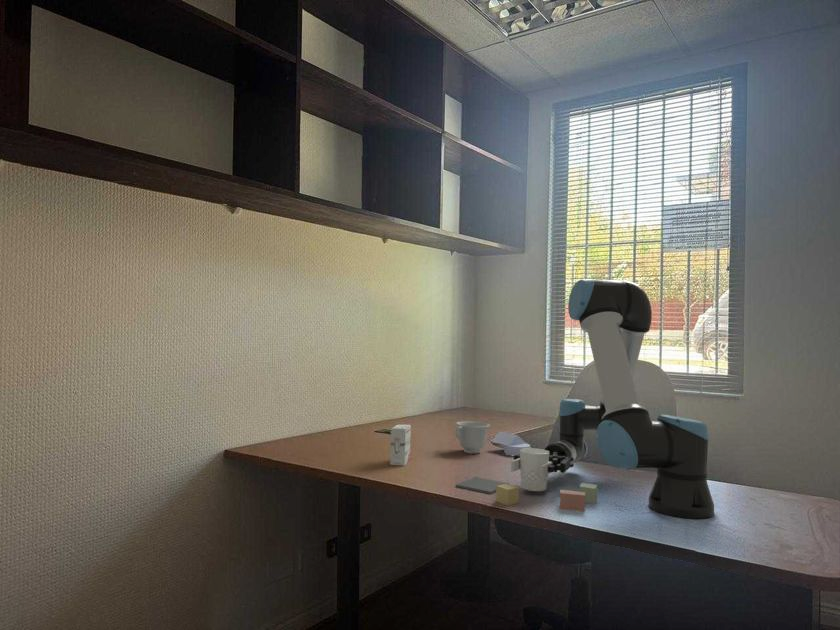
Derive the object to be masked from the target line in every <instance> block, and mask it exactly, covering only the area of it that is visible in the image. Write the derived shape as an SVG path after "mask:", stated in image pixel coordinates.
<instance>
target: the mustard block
mask: <svg viewBox="0 0 840 630" xmlns="http://www.w3.org/2000/svg"><path fill="white" fill-rule="evenodd" d="M519 489H520V488H519V486H516V485H512V484H510V483H509V484H503V485H499V486H496V492H495V493H496V495H495V502H497V503H500V504H503V505H505V506H511V505H515V504H518V503H519V492H520V491H519Z"/></svg>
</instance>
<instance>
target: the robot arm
mask: <svg viewBox="0 0 840 630" xmlns="http://www.w3.org/2000/svg"><path fill="white" fill-rule="evenodd" d="M567 309H568V315H569V317H570V318H571V320H574V321H579V326H580V329H581V331H583V332H585V333H587V336H588V340H589V345H590V349H591V352H592V356H593V357H592V358H593V362H594V365H595V370H596V375H597V379H598V384H599V388H600V393H601V400H600V402H599V405H586V404H585V401H584V400H582V399H580V398H579V399H578V398H563V399H562V400H561V401H560V402H559V412H558V431H559V432H558V441H555V442H553V443H550V444H548V445H547V446H546V447H545V448H544V450H547V451H549V462H548V463H545V464H543V465H541V466H540V476H542V477H543V476H545V475H547V474H548V475H549V474H551V473H558V472H559V473H561V474H564V473H566V472H567V471H568V470H569V469H570V468H573V467H574V464H576V463H579V462H580V461H582V460H583V459H584V458H585V457H586V456H587V454H588V450H589V449H588V444H587V441H586V440H585V431H596V435H597V436H596V444H597V448H598V451H599V454H600V456H601V457H602V459H603V460H604V462H605V463H607V464H608V465H609V467H612V468H615V469H623V470H624V469H625V470H633V469H637V470H638V469H656V475H655V479H654V482H653V485H652V487H651V490H650V491H649V495H648V507H650V508H651V510H654V511H656V512H658V513H661V514H664V515H667V516H672V517H673V516H674V517H678V518H685V519H708V518H707V517H709V518H711V516H712V517H714V515H715V504H714V500H713V497H712V494H711V490H710V488H709V487H710V486H709V484H708V447H709V446H708V442H709V441H710V439H709V433H708V426H707V424H705V423H704V421H703V422H702V421H699V420H696V419H692V418H686V417H682V416H677V415H669V414H658V415H657V416H658V417H657V419H656V420H651V417H650V413H649V411H648V409H647V408H645V407H644V406H641V404H640V400H639V396H638V392H637V388H636V384H635V381H634V380H635V379H634V375H635V371H636V367H637V365H638V360H639V357H640V353H641V349H642V344H643V341H644V336H645V335H646V334H647V333H649V331H650V329H651V324H652V320H653V319H652V318H653V316H652V315H653V313H652V312H653V311H652V305H651V301H650V299H649V297H648V295H647V293H646V291H645V290H644V289H643V288H642V287H641V286H639V284H636V283H635V282H633V281H630V280H607V279H606V280H604V279H594V278H589V279H588V278H587V279H580V280H577V281H576V282H575V284H574V285H573V287H572V288H571V291H570V294H569V297H568V305H567ZM510 461H511V463H510V465H511V467H510V471H511V472H516V471H520V454H518V455H514V456H513V460H510Z"/></svg>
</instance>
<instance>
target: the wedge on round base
mask: <svg viewBox="0 0 840 630" xmlns="http://www.w3.org/2000/svg"><path fill="white" fill-rule="evenodd" d="M491 443H495V444H499V445H504V447H503V454H504V453H505V454H507V455H506V456H508V455H518V454H520V450H521V449H524V448H531V444H529V443H527V442H525V441H524V440H523V439H522V438H521V437H520V436H519V435H518V434H515V433H510V432H504V431H500V430H499V432H498V433H497V434H496V435H495V436H494V438H493V439H492V440H491ZM505 454H504V455H505Z"/></svg>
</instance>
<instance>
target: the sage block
mask: <svg viewBox="0 0 840 630" xmlns="http://www.w3.org/2000/svg"><path fill="white" fill-rule="evenodd" d="M598 486H599V485H598V484H593V483H585V482H581V484H580V485H579V488H578V490H579V491H578V492H585V504H593V505H595V504H596V503H597V501H598V492H599V491H598V488H599V487H598Z"/></svg>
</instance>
